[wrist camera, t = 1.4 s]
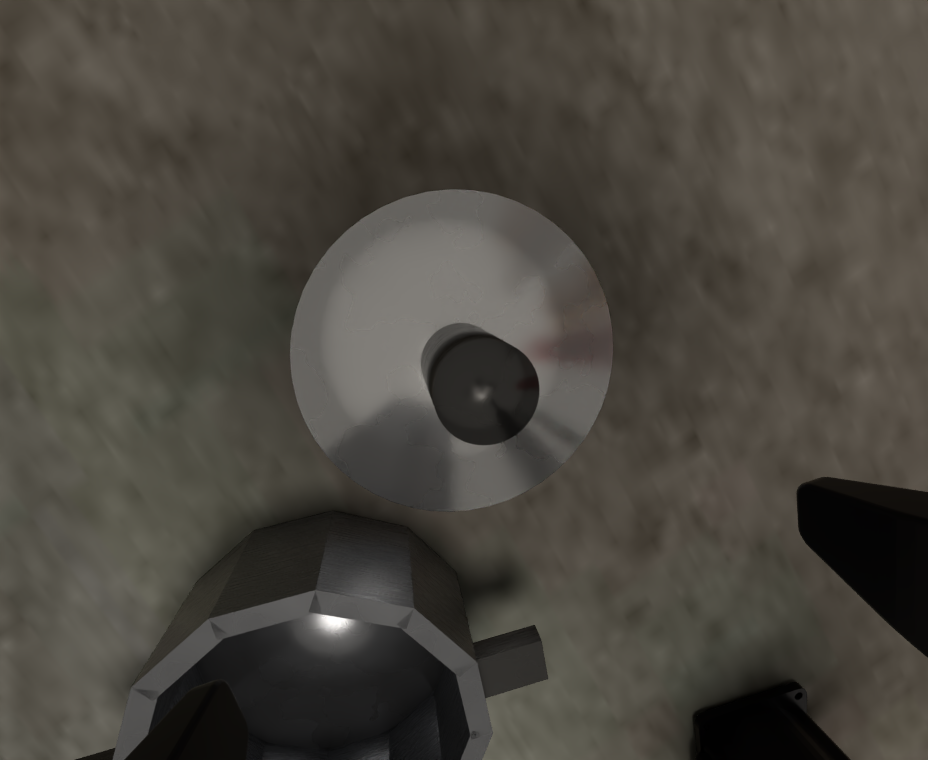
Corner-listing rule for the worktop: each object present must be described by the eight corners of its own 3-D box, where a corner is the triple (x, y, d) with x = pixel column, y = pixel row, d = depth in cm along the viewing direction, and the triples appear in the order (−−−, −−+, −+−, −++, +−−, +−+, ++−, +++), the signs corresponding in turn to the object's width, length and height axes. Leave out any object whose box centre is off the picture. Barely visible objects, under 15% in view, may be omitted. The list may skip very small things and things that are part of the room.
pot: (492, 470, 20) (526, 533, 15) (533, 688, 23) (573, 798, 18) (73, 575, 18) (-42, 686, 13) (178, 798, 21) (115, 955, 16)
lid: (587, 165, 18) (673, 119, 13) (620, 464, 21) (700, 529, 16) (249, 225, 17) (184, 202, 11) (340, 537, 20) (324, 635, 14)
